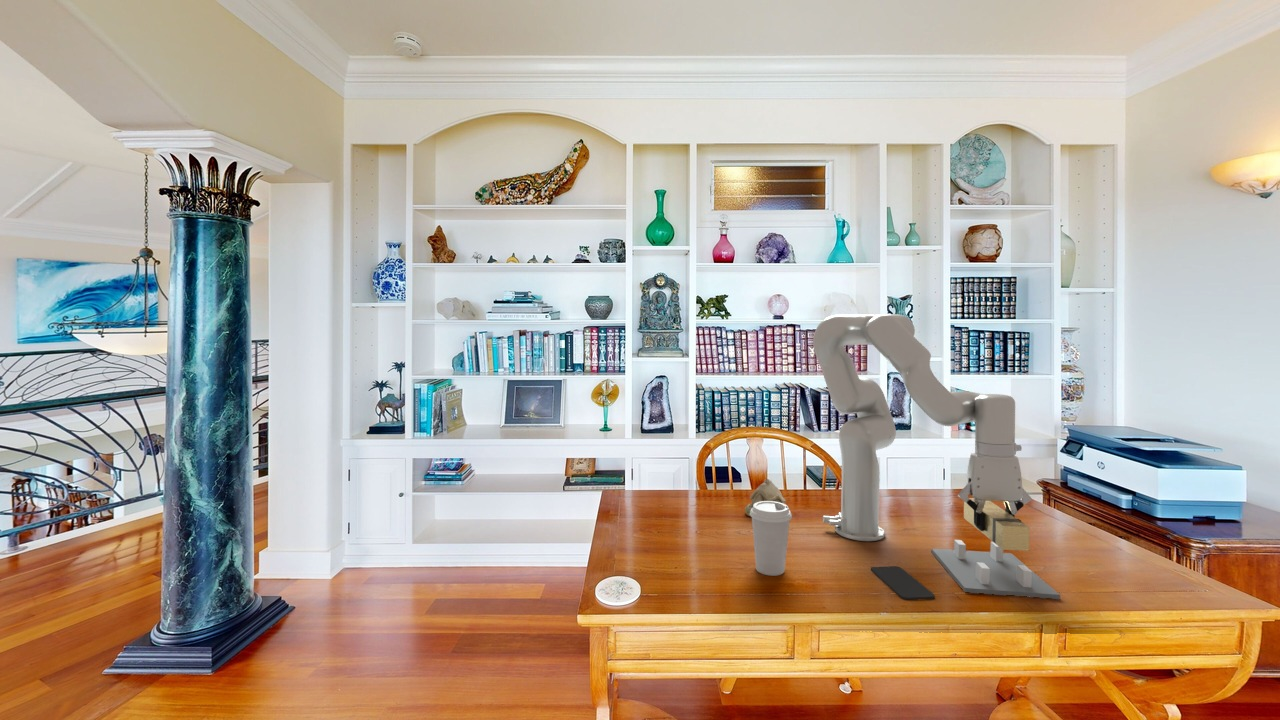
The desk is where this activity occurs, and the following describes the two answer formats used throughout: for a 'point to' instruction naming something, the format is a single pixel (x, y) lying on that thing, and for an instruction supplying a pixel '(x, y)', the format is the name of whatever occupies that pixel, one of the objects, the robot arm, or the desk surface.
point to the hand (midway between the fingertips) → (993, 528)
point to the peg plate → (992, 572)
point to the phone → (902, 583)
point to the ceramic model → (765, 495)
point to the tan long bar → (1001, 527)
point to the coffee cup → (770, 536)
